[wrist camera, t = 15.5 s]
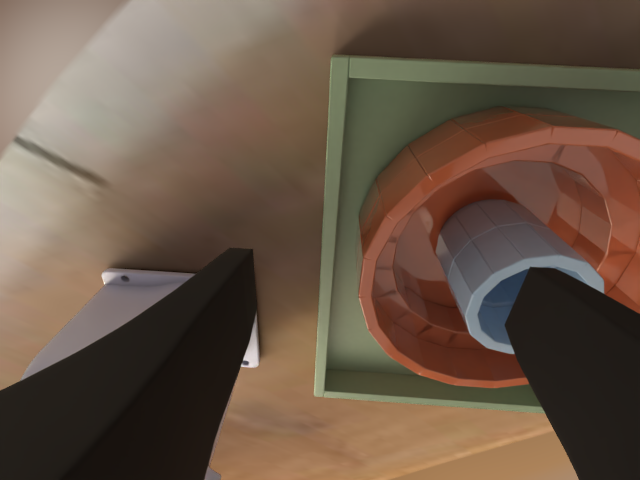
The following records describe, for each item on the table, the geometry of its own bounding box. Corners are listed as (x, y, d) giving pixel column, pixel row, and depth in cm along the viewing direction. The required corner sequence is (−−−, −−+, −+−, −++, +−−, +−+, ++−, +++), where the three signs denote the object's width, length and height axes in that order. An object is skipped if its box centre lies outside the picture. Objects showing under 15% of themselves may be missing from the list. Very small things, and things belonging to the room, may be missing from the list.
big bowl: (346, 312, 22) (347, 378, 18) (369, 96, 15) (381, 117, 11) (549, 326, 22) (602, 396, 17) (665, 111, 15) (797, 138, 11)
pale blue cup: (424, 274, 19) (452, 350, 14) (445, 191, 17) (487, 250, 12) (513, 280, 19) (570, 358, 14) (548, 197, 16) (632, 259, 12)
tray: (315, 367, 25) (313, 396, 23) (332, 54, 14) (331, 56, 12) (544, 383, 24) (563, 415, 22) (730, 73, 14) (797, 78, 12)
